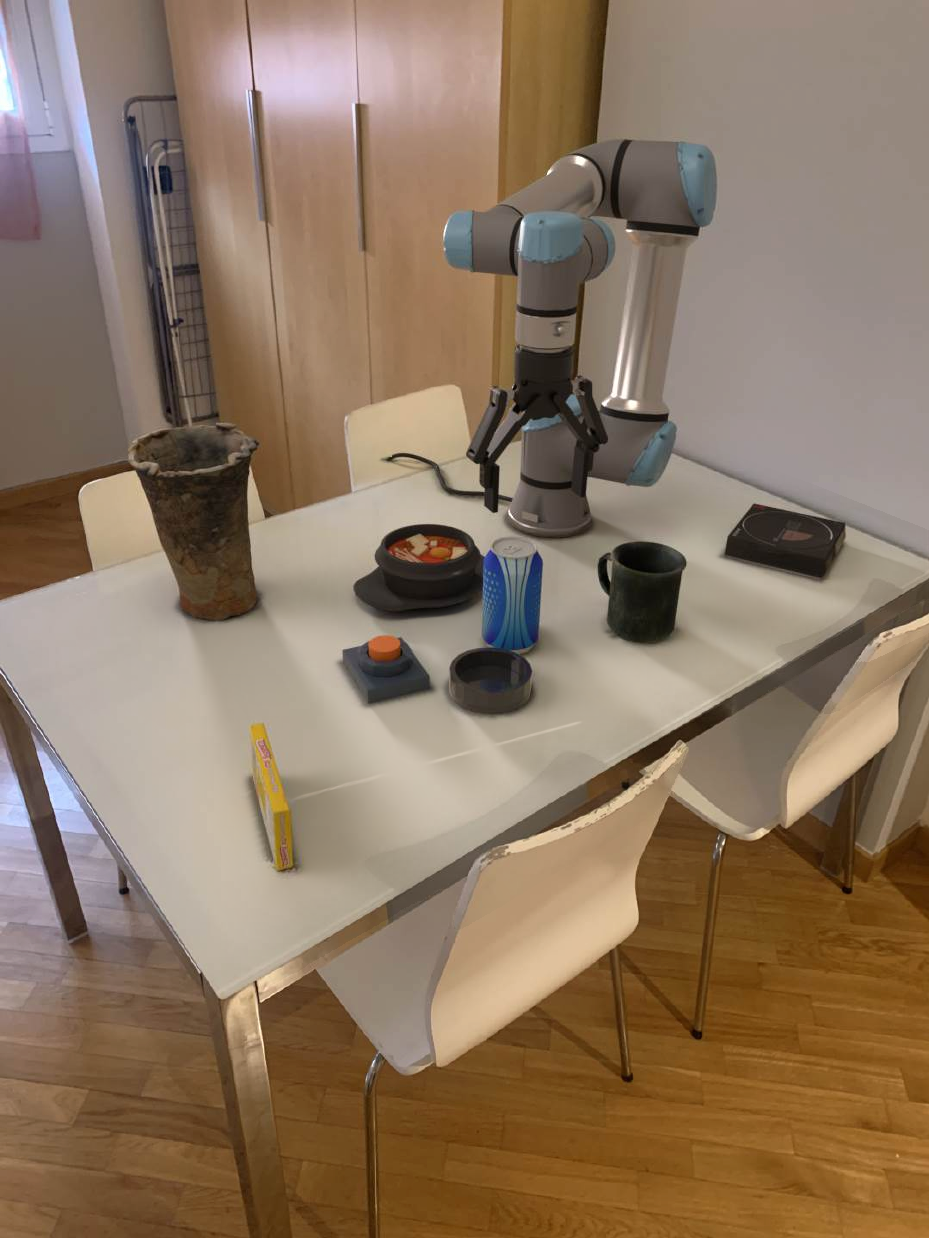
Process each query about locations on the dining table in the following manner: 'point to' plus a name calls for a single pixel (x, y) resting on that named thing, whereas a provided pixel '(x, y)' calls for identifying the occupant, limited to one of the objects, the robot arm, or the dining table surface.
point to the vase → (201, 513)
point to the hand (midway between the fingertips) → (535, 501)
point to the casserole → (423, 569)
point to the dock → (490, 680)
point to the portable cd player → (786, 541)
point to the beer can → (512, 594)
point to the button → (384, 648)
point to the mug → (642, 589)
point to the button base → (385, 673)
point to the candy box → (271, 798)
